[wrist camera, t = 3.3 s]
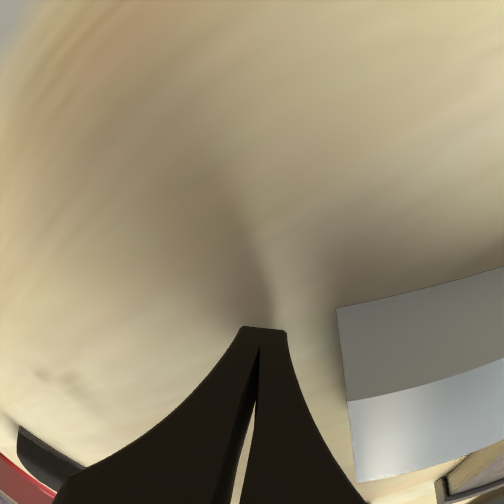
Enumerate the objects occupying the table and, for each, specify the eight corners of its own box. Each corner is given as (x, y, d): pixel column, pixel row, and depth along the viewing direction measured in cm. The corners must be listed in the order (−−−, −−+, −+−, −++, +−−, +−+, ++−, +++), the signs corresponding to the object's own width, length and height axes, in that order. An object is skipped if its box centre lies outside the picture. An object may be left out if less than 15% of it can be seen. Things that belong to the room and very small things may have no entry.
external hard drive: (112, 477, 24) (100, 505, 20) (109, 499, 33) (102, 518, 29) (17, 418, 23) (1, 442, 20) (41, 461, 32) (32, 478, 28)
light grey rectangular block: (530, 350, 10) (562, 406, 6) (350, 406, 12) (355, 483, 9) (557, 243, 7) (615, 295, 4) (334, 303, 10) (347, 401, 6)
